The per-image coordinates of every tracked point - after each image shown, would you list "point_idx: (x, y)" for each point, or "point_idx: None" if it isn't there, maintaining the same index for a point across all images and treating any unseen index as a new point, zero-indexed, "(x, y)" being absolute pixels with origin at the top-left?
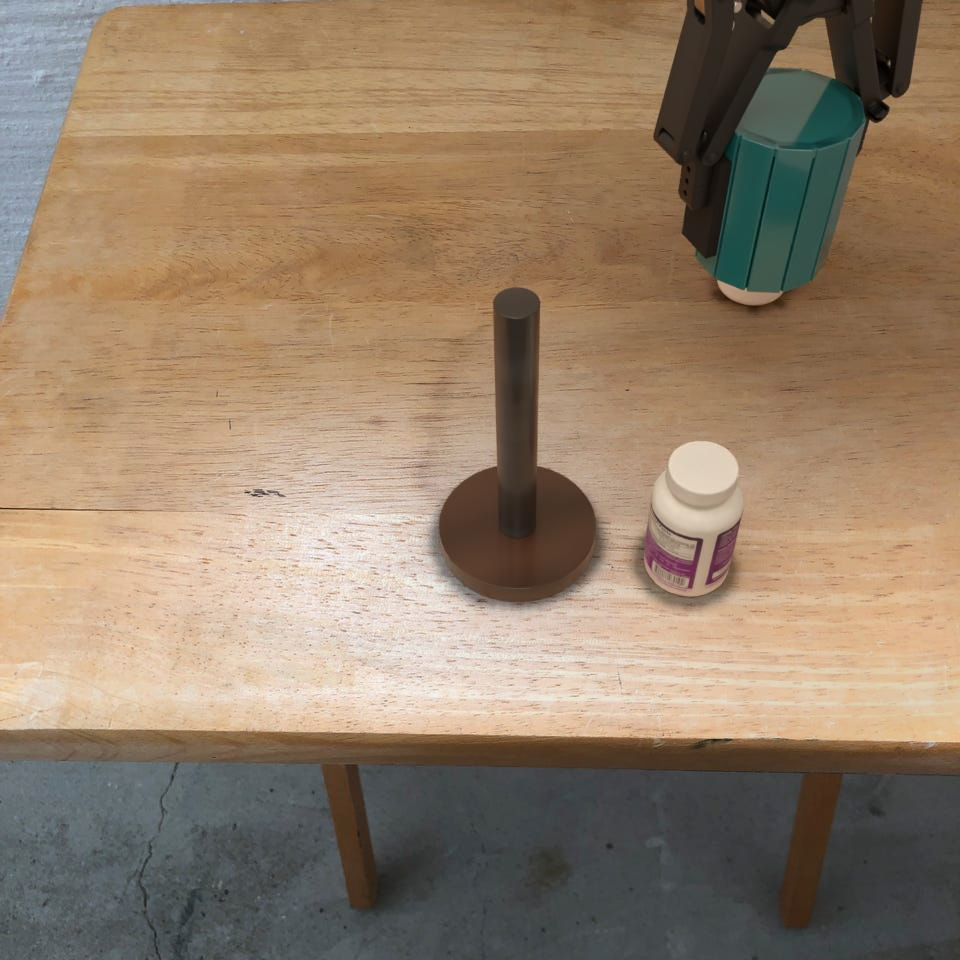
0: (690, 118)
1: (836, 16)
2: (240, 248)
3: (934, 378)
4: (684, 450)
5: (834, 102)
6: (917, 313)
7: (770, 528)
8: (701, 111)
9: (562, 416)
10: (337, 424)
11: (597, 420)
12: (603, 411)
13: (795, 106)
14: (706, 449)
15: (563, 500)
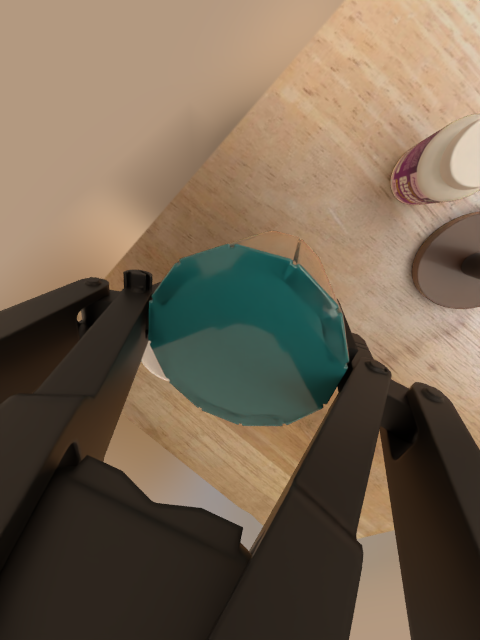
0: (474, 455)
1: (96, 438)
2: (371, 466)
3: (192, 191)
4: (478, 179)
5: (183, 318)
6: (167, 233)
7: (354, 163)
8: (457, 455)
9: (361, 306)
10: (448, 379)
11: (350, 292)
12: (342, 294)
13: (230, 348)
14: (466, 166)
15: (437, 258)
